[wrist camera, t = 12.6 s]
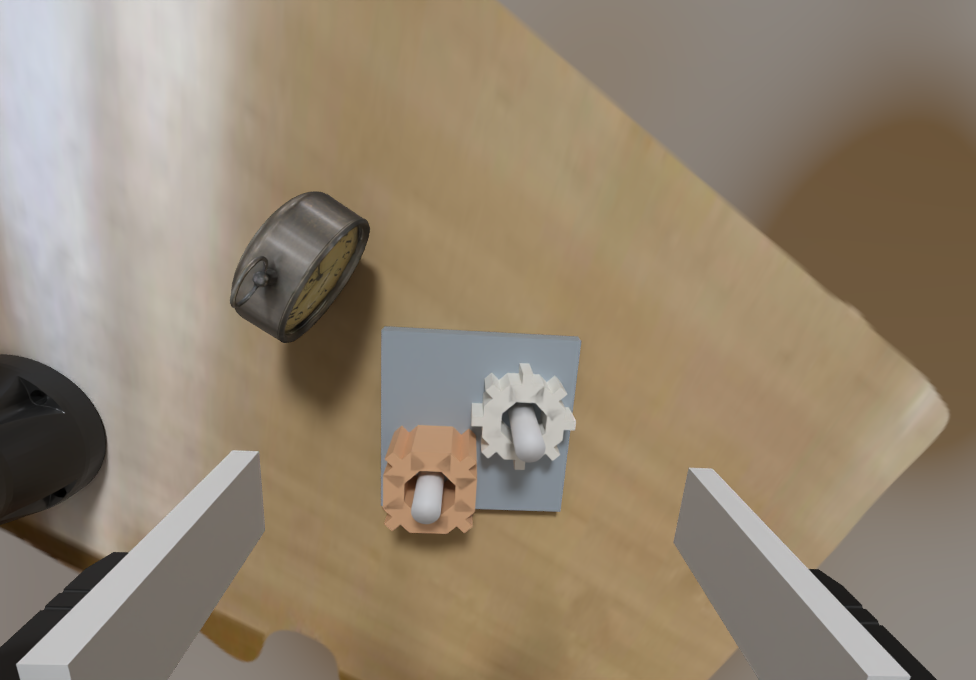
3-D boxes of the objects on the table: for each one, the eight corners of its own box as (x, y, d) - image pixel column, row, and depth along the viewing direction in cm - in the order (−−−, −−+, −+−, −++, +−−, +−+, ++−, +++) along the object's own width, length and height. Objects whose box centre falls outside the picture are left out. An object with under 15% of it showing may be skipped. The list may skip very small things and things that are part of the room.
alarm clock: (324, 323, 41) (236, 390, 26) (270, 291, 40) (144, 339, 25) (386, 221, 39) (330, 226, 24) (331, 184, 38) (234, 163, 23)
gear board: (383, 496, 46) (363, 561, 38) (384, 326, 42) (362, 355, 33) (557, 502, 47) (576, 567, 39) (577, 336, 43) (604, 367, 34)
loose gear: (392, 497, 45) (382, 531, 40) (392, 423, 43) (383, 450, 38) (473, 500, 45) (473, 534, 40) (477, 427, 43) (478, 454, 38)
